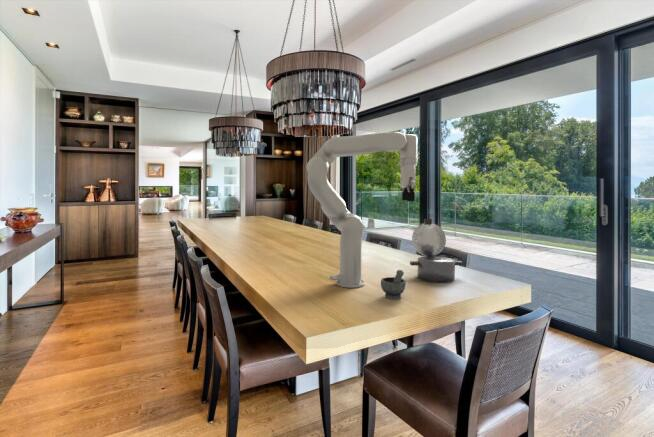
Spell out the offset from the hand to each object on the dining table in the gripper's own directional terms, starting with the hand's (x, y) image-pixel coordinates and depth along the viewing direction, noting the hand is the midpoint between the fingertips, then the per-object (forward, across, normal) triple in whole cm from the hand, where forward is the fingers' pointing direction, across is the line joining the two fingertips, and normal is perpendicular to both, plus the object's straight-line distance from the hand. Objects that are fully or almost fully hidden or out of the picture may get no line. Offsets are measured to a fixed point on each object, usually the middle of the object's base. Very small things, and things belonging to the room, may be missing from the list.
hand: (408, 200), depth 162 cm
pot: (+38, -5, +15) cm, 41 cm away
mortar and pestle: (+37, +25, -11) cm, 46 cm away
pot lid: (+19, -16, +15) cm, 29 cm away
